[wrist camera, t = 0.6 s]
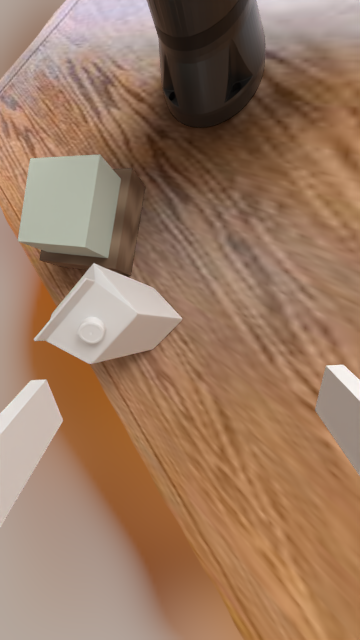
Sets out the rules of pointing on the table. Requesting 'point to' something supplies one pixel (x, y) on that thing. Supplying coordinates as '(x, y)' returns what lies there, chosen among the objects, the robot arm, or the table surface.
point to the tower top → (70, 205)
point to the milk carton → (109, 317)
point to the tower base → (121, 235)
